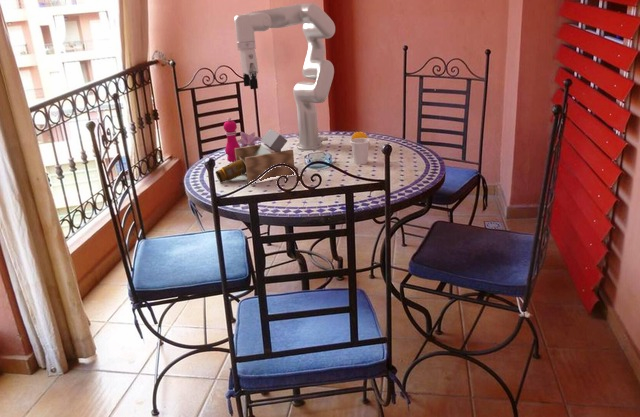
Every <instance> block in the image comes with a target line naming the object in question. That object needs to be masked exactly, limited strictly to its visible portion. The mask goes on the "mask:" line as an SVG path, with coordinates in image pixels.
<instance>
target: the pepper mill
mask: <svg viewBox="0 0 640 417" xmlns="http://www.w3.org/2000/svg"><path fill="white" fill-rule="evenodd" d="M226 120H227V121H225V122H224V123H223V130H224V131H225V132H224V133H225V135H226V145H225V147H224V148H225V151H224V152H225V154H226V155H227V156H226V158H227V161H228V162H230V163H233V162H235V161H236V156H235V148H240V147H241V145H240V143H238V142H237V141H238V140H237V129H238V126H237V123H236V121H234V120H232V118H231V117H227V119H226Z"/></svg>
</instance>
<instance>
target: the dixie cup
mask: <svg viewBox="0 0 640 417" xmlns="http://www.w3.org/2000/svg"><path fill="white" fill-rule="evenodd" d="M367 138H368V137H367ZM367 138H356V139H352V140H350V141H349V142H350V145H351V151H352V155H353V156H352V157H353V163H354V164H355V165H358V166H359V165H360V166H361V165H366V164H368V160H369V158H368V156H369V147H370V139H369V138H368V139H367Z"/></svg>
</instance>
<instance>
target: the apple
mask: <svg viewBox="0 0 640 417" xmlns="http://www.w3.org/2000/svg"><path fill="white" fill-rule="evenodd" d="M356 138H367V139H369V138H368V136H367V134H366V133H365V132H363V131H355V132H354V133H353V134H352V135H351V140H352V139H356ZM351 140H350V141H351Z"/></svg>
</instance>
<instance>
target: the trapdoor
mask: <svg viewBox="0 0 640 417" xmlns="http://www.w3.org/2000/svg"><path fill="white" fill-rule="evenodd" d="M261 138H262V139H261V140H260V141H261V143H260V144H261V146H260V147H259V149H258V150H257V151H256V153H255V154H254V155H253V156H257V155H263V154H268V153H274V152H275V151H276V152H279V151H280V150H281V151H282V149H283V148H284V146H285V145H286V144H287V142H288V140H287V139H286V138H285V137H284V136H282V134H280V133H278V132H277V131H275V130H273V129H271V128H269V129H268V130H267V131H266V133H265V134H264V135H263V137H261ZM264 143H265V144H264ZM267 145H268V146H269V147H268V146H267ZM271 148H272V149H273V150H272V149H271ZM245 175H247V173H245Z"/></svg>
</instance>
